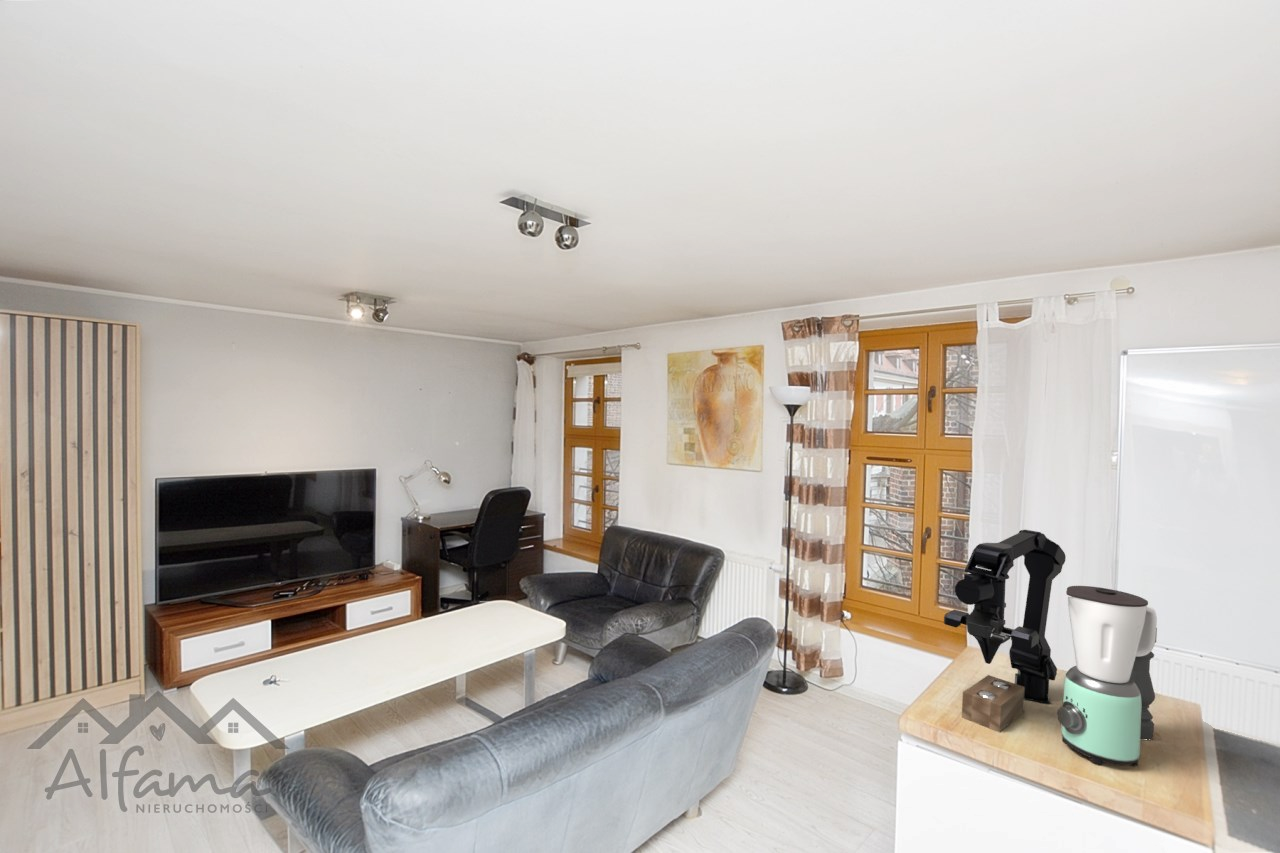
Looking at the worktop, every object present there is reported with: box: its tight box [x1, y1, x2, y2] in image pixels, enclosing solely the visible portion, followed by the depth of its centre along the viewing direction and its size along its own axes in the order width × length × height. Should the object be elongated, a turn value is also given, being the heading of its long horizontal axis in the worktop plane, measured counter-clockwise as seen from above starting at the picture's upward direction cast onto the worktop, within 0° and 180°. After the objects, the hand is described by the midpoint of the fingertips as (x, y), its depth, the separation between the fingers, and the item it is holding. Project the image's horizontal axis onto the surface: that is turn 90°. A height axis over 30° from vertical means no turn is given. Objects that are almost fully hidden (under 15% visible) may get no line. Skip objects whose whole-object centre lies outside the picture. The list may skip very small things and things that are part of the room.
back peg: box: [993, 681, 1009, 689], centre depth 140 cm, size 3×3×6 cm
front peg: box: [979, 691, 995, 700], centre depth 134 cm, size 3×3×6 cm
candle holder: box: [1130, 627, 1158, 741], centre depth 131 cm, size 6×6×25 cm
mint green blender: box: [1056, 585, 1158, 767], centre depth 122 cm, size 19×13×35 cm
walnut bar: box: [961, 674, 1025, 733], centre depth 137 cm, size 8×16×6 cm, turn 130°
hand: (988, 663), depth 136 cm, fingers closed
